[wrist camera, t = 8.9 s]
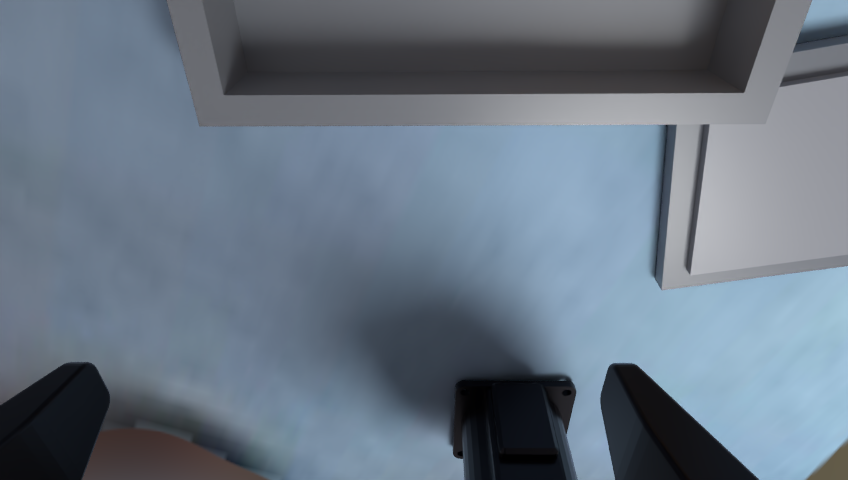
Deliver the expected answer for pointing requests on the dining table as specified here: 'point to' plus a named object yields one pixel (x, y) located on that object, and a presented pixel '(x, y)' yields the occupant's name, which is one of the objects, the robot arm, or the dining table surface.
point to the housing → (485, 61)
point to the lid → (762, 183)
